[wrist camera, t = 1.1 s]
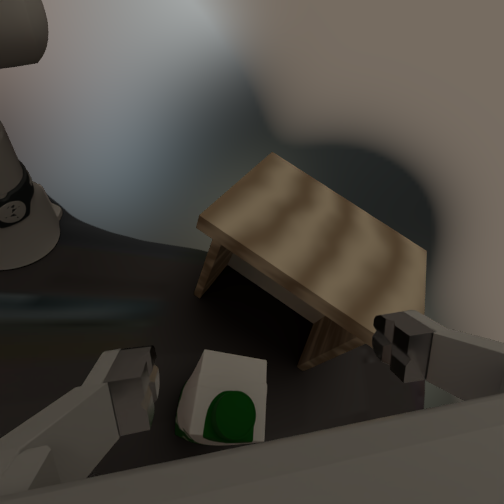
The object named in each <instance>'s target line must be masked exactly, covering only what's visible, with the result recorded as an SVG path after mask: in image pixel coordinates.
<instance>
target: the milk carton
mask: <svg viewBox="0 0 504 504" xmlns="http://www.w3.org/2000/svg"><path fill="white" fill-rule="evenodd" d="M266 371H267V360H262V359H256V358H251V357H245V356H240V355H234V354H228V353H223V352H217V351H211V350H206V349H205V350H204V352H203V354H202V356H201V358H200V360H199V362H198V364H197V366H196V368H195V370H194V372H193V374H192V375H191V377H190V378H189V380H188V381H186V383H185V384H184V386H183V388H182V390H181V393H180V398H179V402H178V407H177V413H176V419H175V435H177V436H179V437H181V438H183V439H185V440H187V441H190V442H193V443H197V444H202V445H236V444H247V443H260V442H263V441H264V436H265V415H266V395H267V384H266Z"/></svg>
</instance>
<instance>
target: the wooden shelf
mask: <svg viewBox="0 0 504 504" xmlns="http://www.w3.org/2000/svg"><path fill="white" fill-rule="evenodd" d="M196 228H197V229H199V230H200V231H202V232H203V233H205V234H206V235H207V236H209V237H210V238H212V242H211V245H210V248H209V251H208V254H207V257H206V260H205V263H204V266H203V269H202V271H201V274H200V277H199V280H198V283H197V286H196V289H195V292H194V295H195V296H197V297H198V298H201V297H202V295H203V294H204V293H205V292H206V290H207V289H208V288H209V287H210V286H211V284H212V283H213V282H214V281H215V279H216V278H217V277H218V276H219V274H220V273H221V272H222V271H223V270H224V268H225V267H226V266H227V265H228V266H230V267H231V268H233V269H234V270H236V271H237V272H239V273H240V274H242V275H243V276H244V277H246V278H247V279H249V280H250V281H252V282H253V283H255V284H256V285H258V286H259V287H261V288H262V289H263V290H265V291H266V292H268V293H269V294H271V295H272V296H274V297H275V298H277V299H278V300H280V301H281V302H282V303H284V304H285V305H287V306H288V307H290V308H291V309H293V310H294V311H296V312H297V313H298V314H300V315H301V316H303V317H304V318H306V319H307V320H309V321H310V322H312V323H313V326H312V329H311V332H310V334H309V337H308V339H307V342H306V344H305V347H304V350H303V352H302V355H301V357H300V360H299V362H298V365H297V367H298V368H299V369H301V370H302V371H305V370H307V369H310V368H312V367H314V366H316V365H319V364H321V363H323V362H325V361H328V360H330V359H332V358H334V357H336V356H339V355H341V354H343V353H345V352H348V351H350V350H352V349H354V348H357V347H359V346H361V345H363V344H368V345H369V346H371V347H372V348H373V346H372V336H373V335H374V333H375V332H376V329H375V328H374V326H373V323H374V318H375V316H377V315H383V314H390V313H396V312H401V311H407V310H416V311H418V312H420V313H421V314H423V315H424V311H425V284H426V255H427V251H426V250H424V249H422V248H421V247H419V246H418V245H416V244H414V243H413V242H412V241H410V240H409V239H407V238H405V237H404V236H402V235H401V234H399V233H398V232H396V231H395V230H393V229H391V228H390V227H388V226H387V225H385V224H384V223H382V222H380V221H379V220H377V219H376V218H374V217H373V216H371V215H370V214H368V213H367V212H365V211H363V210H362V209H360V208H359V207H357V206H356V205H354V204H353V203H351V202H349V201H348V200H346V199H345V198H343V197H342V196H340V195H339V194H337V193H335V192H334V191H332V190H331V189H329V188H328V187H326V186H325V185H323V184H321V183H320V182H318V181H317V180H315V179H314V178H312V177H310V176H309V175H307V174H306V173H304V172H303V171H301V170H300V169H298V168H297V167H295V166H293V165H292V164H290V163H289V162H287V161H286V160H284V159H282V158H281V157H279V156H278V155H276V154H275V153H273V152H272V153H270V154H269V155H268V156H267V157H266V158H265V159H264V160H262V161H261V162H260V163H259V164H258V165H257V166H255V167H254V168H253V169H252V170H251V171H250V172H248V173H247V174H246V175H245V176H244V177H243V178H242V179H240V180H239V181H238V182H237V183H236V184H235V185H234V186H232V187H231V188H230V189H229V190H228V191H227V192H225V193H224V194H223V195H222V196H221V197H220V198H219V199H218V200H216V201H215V202H214V203H213V204H212V205H210V206H209V207H208V208H207V209H206V210H205V211H204V212H202V213H201V214H200V215H199V219H198V223H197V226H196Z"/></svg>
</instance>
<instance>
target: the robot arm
mask: <svg viewBox="0 0 504 504" xmlns="http://www.w3.org/2000/svg"><path fill="white" fill-rule="evenodd" d="M47 41H48V22H47V18H46V13H45V10H44V7H43V4H42V1H41V0H0V69H2V68H9V67H17V66H23V65H29V64H35V63H38V62H39V60H40V59H41V58H42V56H43V54H44V52H45V50H46V47H47ZM62 214H63V212H62V210H61V208H60V207H59V206H57V205H55V204H53V203H51V202H50V200H49V198H48V196H47V194H46V192H45V190H44V189H43V187H42V186H41V185H40V184H37V183H35V182H33V181H32V179H31V177H30V175H29V172H28V171H27V170H26V168H25V166H24V165H23V164H22V162H20V161H19V160H18V158H17V156H16V153H15V151H14V149H13V146H12V144H11V142H10V140H9V137H8V135H7V133H6V131H5V128H4V126H3V124H2V123H1V121H0V270H8V269H14V268H18V267H22V266H25V265H28V264H31V263H33V262H35V261H37V260H39V259H41V258H42V257H44V256H45V255H46V254H48V253H49V252H50V251H51V250H52V249H53V248H54V247H55V245H56V244H57V242H58V239H59V236H60V228H59V221H60V219H61V216H62ZM373 326H374V328H375V329H376V332H375V333H374V335H373V336H372V346H373V350H374V352H375V354H376V356H377V357H378V358H379V359H380V360H381V361H382V362H384V363H387V364H389V365H390V370H391V371H392V372H393V373H394V374H395V375H396V376H397V377H398V378H399V379H400V380H401V381H402V382H403V383H407V382H413V381H420V380H426V381H428V382H429V383H431V384H433V385H435V386H437V387H439V388H441V389H443V390H445V391H447V392H449V393H450V394H452V395H454V396H456V397H458V398H460V399H462V400H464V401H462V402H456V403H452V404H447V405H442V406H437V407H432V408H427V409H422V410H417V411H412V412H407V413H402V414H398V415H393V416H388V417H383V418H378V419H373V420H368V421H363V422H359V423H354V424H349V425H344V426H339V427H334V428H330V429H325V430H320V431H315V432H310V433H306V434H301V435H296V436H291V437H286V438H281V439H276V440H271V441H266V442H262V443H257V444H252V445H247V446H242V447H237V448H232V449H227V450H222V451H218V452H213V453H208V454H203V455H198V456H193V457H188V458H183V459H179V460H174V461H169V462H164V463H159V464H154V465H149V466H144V467H139V468H135V469H130V470H125V471H120V472H115V473H110V474H105V475H100V476H95V477H91V478H87V476H88V475H89V474H90V473H91V472H92V470H93V469H94V468H95V467H96V465H97V464H98V463H99V462H100V461H101V459H102V458H103V457H104V456H105V455H106V453H107V452H108V451H109V450H110V449H111V447H112V446H113V445H114V444H115V443H116V441H117V440H118V439H119V436H123V435H127V434H132V433H137V432H141V431H146V430H150V429H151V424H152V420H153V416H154V411H155V409H154V402H155V401H156V400H157V398H158V393H159V370H158V367H156V366H155V365H154V363H155V360H156V352H155V347H154V346H153V345H151V346H142V347H133V348H125V349H116V350H109V351H105V352H103V353H102V354H101V356H100V357H99V359H98V361H97V362H96V364H95V365H94V367H93V369H92V370H91V372H90V373H89V375H88V377H87V378H86V380H85V381H84V383H83V385H82V386H81V387H76V388H74V389H73V390H71V391H70V392H68V393H67V394H65V395H64V396H62V397H61V398H59V399H58V400H56V401H55V402H53V403H52V404H50V405H49V406H48V407H46V408H45V409H43V410H42V411H40V412H39V413H37V414H36V415H34V416H33V417H31V418H30V419H28V420H27V421H25V422H24V423H22V424H21V425H20V426H18V427H17V428H15V429H14V430H12V431H11V432H9V433H8V434H6V435H5V436H3V437H2V438H0V504H504V343H502V342H498V341H495V340H491V339H487V338H483V337H480V336H476V335H472V334H468V333H464V332H461V331H457V330H449V329H447V328H445V327H444V326H442V325H440V324H438V323H437V322H435V321H433V320H432V319H430V318H428V317H426V316H425V315H423V314H421V313H420V312H418V311H416V310H407V311H401V312H396V313H390V314H383V315H377V316H375V318H374V323H373Z"/></svg>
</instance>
